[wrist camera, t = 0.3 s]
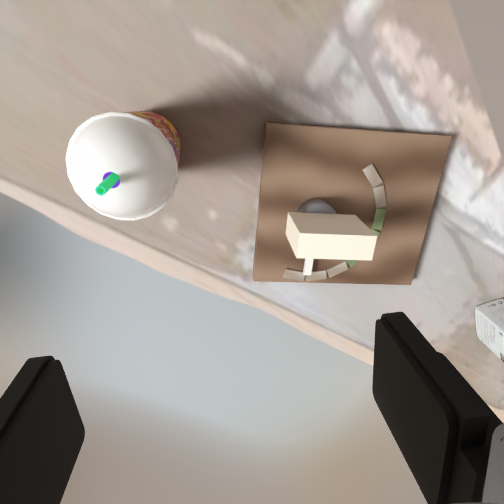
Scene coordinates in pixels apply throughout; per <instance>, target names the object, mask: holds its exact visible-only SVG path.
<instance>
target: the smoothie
mask: <svg viewBox="0 0 504 504" xmlns="http://www.w3.org/2000/svg"><path fill="white" fill-rule="evenodd" d="M180 151H181V147H180V139H179V136H178V133H177V131H176V129H175V128H174V126H173V125H172V124H171V122H170V121H168V120H167V119H166V118H164V117H163V116H162V115H159V114H156V113H154V112H145V111H140V112H106V113H103V114H99V115H96V116H92V117H91V118H89V119H88V120H87V121H85V122H84V123H82V124H81V125H80V126H78V128H77V129H76V131H75V132H74V134H73V136H72V137H71V139H70V140H69V144H68V148H67V153H66V157H65V158H66V166H67V174H68V177H69V179H70V181H71V184H72V186H73V188H74V190H75V192H76V193H77V194H78V195H79V196H80V198H81V199H82V200H83V201H84V202H85V203H86V204H87V205H88V206H89V207H91V208H92V209H94V210H95V211H97V212H98V213H100V214H101V215H104V216H107V217H110V218H113V219H116V220H130V221H135V220H139V219H143V218H146V217H150V216H152V215H153V214H155V213H156V212H158V211H159V210H161V209H162V208H164V206H165V205H166V204H167V202H168V201H169V200H170V198H171V197H172V196H173V193H174V190H175V187H176V184H177V181H178V167H179V159H180Z"/></svg>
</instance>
